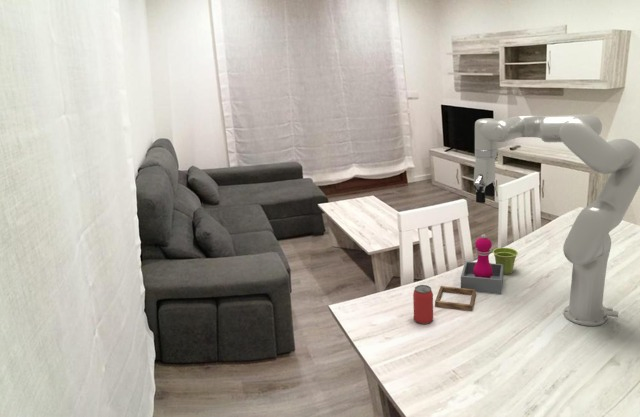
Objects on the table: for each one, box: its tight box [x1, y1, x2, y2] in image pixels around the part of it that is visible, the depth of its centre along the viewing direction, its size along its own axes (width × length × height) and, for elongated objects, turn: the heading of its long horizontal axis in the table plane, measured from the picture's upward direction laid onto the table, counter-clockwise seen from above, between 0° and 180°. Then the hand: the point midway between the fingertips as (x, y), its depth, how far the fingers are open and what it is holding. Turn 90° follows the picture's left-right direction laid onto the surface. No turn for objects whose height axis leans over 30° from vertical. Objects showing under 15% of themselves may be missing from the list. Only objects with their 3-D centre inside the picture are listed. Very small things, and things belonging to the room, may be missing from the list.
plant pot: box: [492, 247, 518, 275], centre depth 197 cm, size 9×9×9 cm
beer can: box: [412, 284, 434, 325], centre depth 166 cm, size 7×7×12 cm
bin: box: [460, 260, 504, 295], centre depth 188 cm, size 15×15×6 cm
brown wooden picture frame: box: [434, 285, 477, 312], centre depth 178 cm, size 13×13×2 cm
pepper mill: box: [473, 233, 493, 278], centre depth 186 cm, size 7×7×20 cm
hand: (485, 199), depth 179 cm, fingers open, 9 cm apart
